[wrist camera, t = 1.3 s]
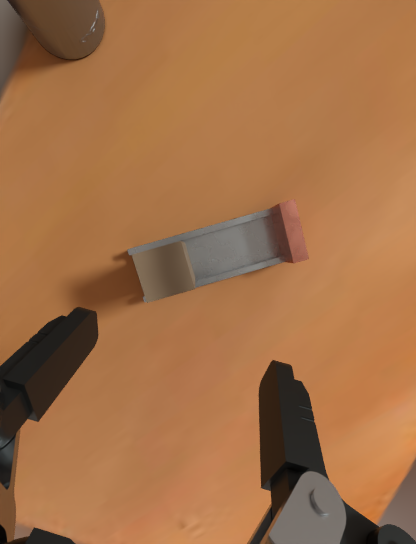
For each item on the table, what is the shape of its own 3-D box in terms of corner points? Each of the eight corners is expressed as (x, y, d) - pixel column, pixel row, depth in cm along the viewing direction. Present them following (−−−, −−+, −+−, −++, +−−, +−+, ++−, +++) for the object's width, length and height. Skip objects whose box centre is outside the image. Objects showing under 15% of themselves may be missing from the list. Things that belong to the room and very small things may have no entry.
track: (148, 299, 34) (140, 308, 29) (132, 248, 33) (120, 248, 28) (292, 257, 34) (308, 258, 29) (280, 206, 33) (294, 199, 28)
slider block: (160, 287, 32) (147, 302, 23) (149, 252, 32) (131, 254, 23) (195, 277, 32) (195, 288, 23) (185, 242, 32) (180, 240, 23)
